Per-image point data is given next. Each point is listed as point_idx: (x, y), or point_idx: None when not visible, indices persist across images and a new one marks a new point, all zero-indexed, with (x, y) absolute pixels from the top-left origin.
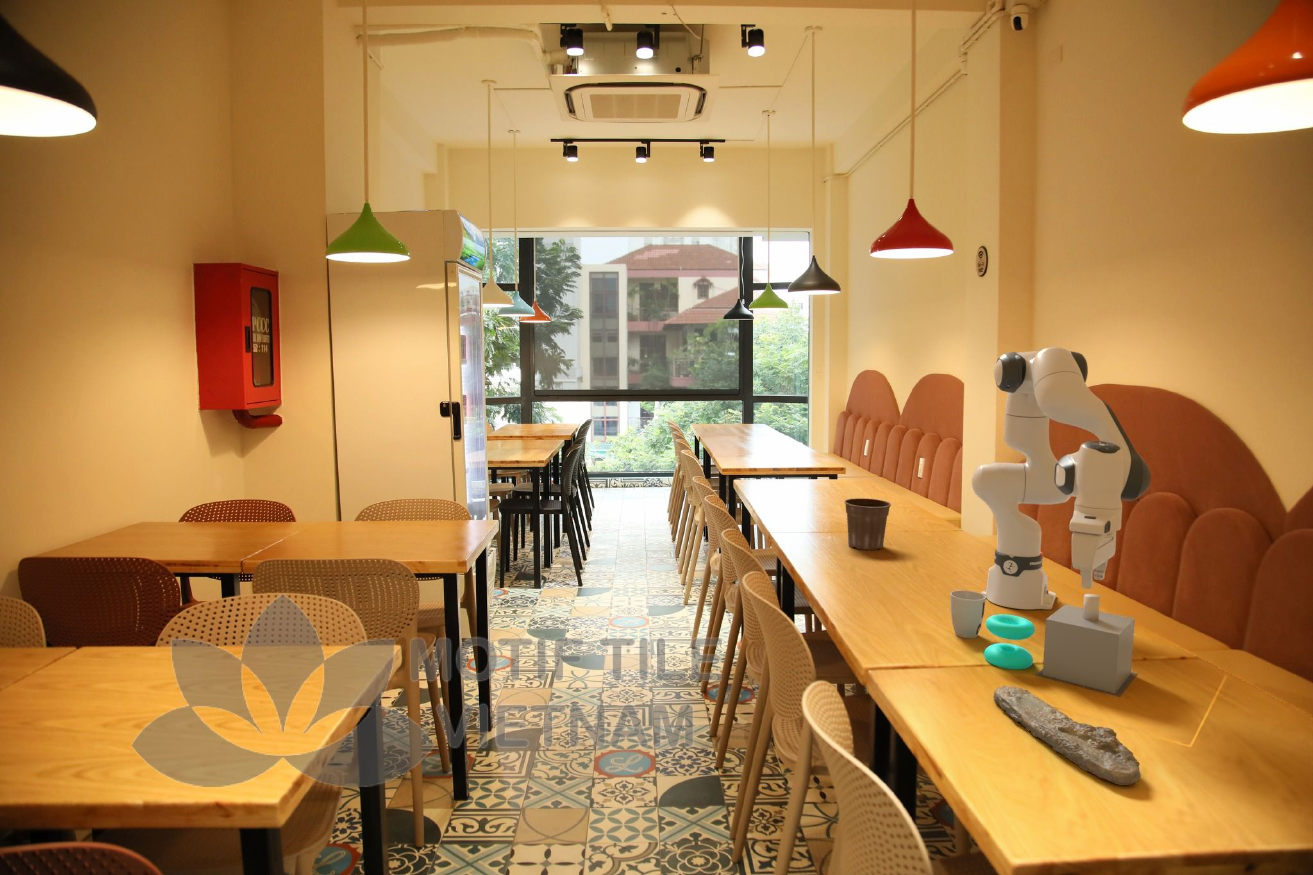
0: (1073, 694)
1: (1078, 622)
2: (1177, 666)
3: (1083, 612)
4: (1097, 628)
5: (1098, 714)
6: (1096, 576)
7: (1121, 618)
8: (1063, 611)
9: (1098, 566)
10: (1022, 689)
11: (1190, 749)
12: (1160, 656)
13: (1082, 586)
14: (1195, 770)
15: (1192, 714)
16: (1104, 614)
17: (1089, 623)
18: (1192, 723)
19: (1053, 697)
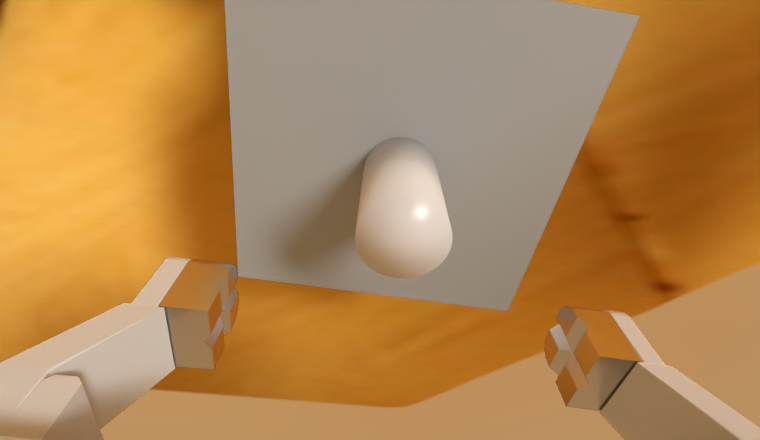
0: (217, 72)
1: (292, 126)
2: (592, 278)
3: (384, 152)
4: (258, 207)
5: (132, 142)
6: (569, 334)
7: (480, 275)
8: (468, 26)
9: (671, 418)
10: None
11: (114, 289)
12: (661, 248)
13: (168, 263)
14: (32, 293)
15: (293, 295)
16: (512, 218)
17: (314, 172)
18: (244, 294)
19: (145, 19)
